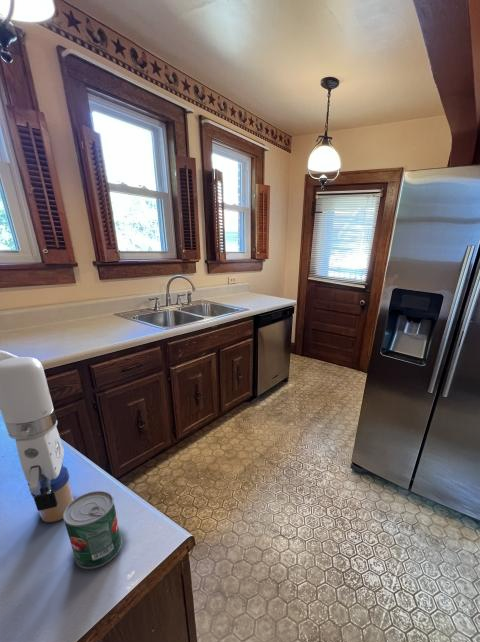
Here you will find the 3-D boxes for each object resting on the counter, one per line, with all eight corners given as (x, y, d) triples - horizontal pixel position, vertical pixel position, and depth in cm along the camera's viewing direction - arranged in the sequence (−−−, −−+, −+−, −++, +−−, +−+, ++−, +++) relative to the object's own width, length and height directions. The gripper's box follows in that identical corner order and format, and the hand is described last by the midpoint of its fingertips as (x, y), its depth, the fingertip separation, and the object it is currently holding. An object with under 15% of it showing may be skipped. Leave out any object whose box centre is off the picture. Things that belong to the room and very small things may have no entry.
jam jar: (40, 526, 64) (29, 493, 60) (41, 506, 69) (31, 474, 65) (76, 514, 67) (67, 482, 64) (74, 495, 72) (66, 464, 68)
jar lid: (69, 487, 64) (67, 481, 63) (28, 499, 61) (25, 493, 60) (69, 467, 69) (67, 461, 69) (31, 477, 66) (29, 471, 65)
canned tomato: (65, 560, 58) (51, 516, 54) (100, 526, 65) (91, 485, 60) (97, 575, 55) (86, 531, 51) (131, 539, 62) (123, 497, 58)
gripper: (47, 443, 54) (67, 516, 60) (62, 398, 68) (77, 461, 74) (-9, 452, 50) (19, 528, 57) (19, 404, 65) (39, 469, 71)
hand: (52, 490), depth 66 cm, fingers open, 9 cm apart
